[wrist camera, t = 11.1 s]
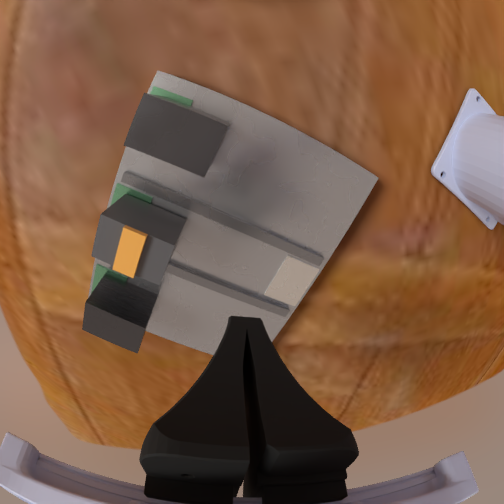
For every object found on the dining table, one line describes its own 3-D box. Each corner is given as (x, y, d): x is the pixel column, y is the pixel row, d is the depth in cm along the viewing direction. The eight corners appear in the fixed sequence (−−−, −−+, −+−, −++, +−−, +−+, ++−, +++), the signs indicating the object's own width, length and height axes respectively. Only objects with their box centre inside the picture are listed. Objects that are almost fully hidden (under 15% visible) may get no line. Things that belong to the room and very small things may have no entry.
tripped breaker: (186, 219, 17) (173, 248, 13) (172, 254, 18) (158, 288, 14) (125, 193, 16) (98, 216, 13) (114, 229, 17) (89, 258, 14)
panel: (368, 172, 18) (406, 194, 13) (252, 354, 24) (254, 401, 20) (164, 73, 14) (136, 61, 10) (94, 294, 21) (68, 335, 17)
